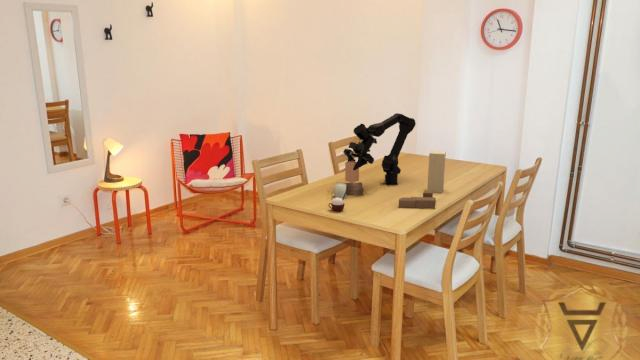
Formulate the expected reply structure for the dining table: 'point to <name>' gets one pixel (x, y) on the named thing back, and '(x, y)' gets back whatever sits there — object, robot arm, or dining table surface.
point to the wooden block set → (419, 201)
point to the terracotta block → (351, 172)
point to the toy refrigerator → (436, 171)
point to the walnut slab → (354, 189)
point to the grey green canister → (339, 190)
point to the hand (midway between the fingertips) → (350, 169)
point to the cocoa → (338, 203)
